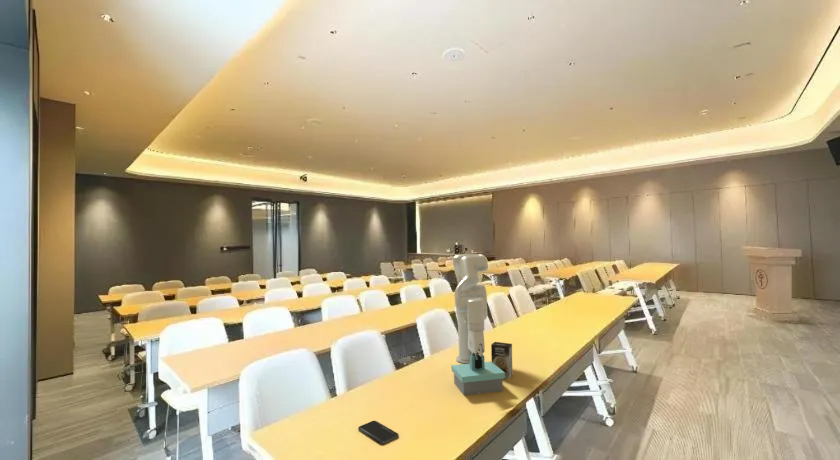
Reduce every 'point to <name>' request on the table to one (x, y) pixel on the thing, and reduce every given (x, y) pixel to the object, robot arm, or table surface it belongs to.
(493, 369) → the lid
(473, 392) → the tub
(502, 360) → the coffee box
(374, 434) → the phone
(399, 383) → the table surface
